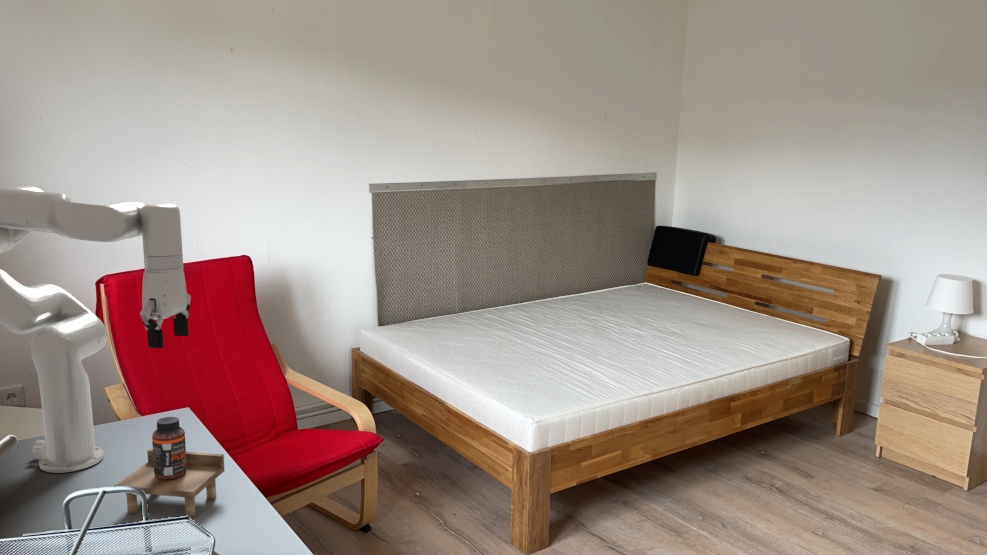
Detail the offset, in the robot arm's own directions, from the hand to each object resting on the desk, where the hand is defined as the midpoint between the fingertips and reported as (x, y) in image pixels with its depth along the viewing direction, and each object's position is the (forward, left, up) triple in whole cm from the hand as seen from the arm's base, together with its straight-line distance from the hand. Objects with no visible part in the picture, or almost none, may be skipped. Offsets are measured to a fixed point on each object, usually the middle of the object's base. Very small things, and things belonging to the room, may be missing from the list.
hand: (169, 341), depth 165 cm
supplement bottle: (+9, -17, -22) cm, 29 cm away
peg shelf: (+9, -17, -28) cm, 34 cm away
